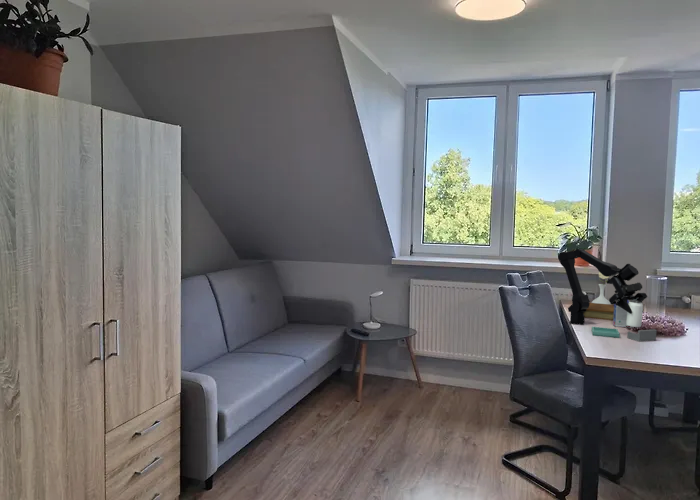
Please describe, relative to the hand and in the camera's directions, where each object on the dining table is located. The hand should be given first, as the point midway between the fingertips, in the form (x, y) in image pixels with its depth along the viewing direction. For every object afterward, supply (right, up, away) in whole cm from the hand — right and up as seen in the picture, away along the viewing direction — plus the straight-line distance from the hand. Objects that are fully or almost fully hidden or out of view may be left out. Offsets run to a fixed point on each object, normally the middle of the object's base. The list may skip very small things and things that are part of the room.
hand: (636, 313), depth 257 cm
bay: (+1, -12, -2) cm, 12 cm away
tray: (-12, -11, +6) cm, 18 cm away
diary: (+7, -8, +53) cm, 55 cm away
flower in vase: (+22, -6, +83) cm, 86 cm away
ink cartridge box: (+7, -10, +26) cm, 28 cm away
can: (0, -7, +2) cm, 7 cm away
